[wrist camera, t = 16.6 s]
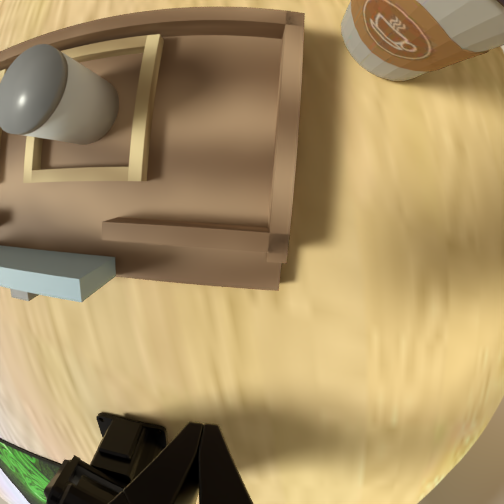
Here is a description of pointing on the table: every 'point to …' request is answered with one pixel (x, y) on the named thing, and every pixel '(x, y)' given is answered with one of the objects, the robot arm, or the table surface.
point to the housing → (170, 149)
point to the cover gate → (53, 273)
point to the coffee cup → (420, 34)
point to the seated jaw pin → (55, 98)
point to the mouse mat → (27, 471)
